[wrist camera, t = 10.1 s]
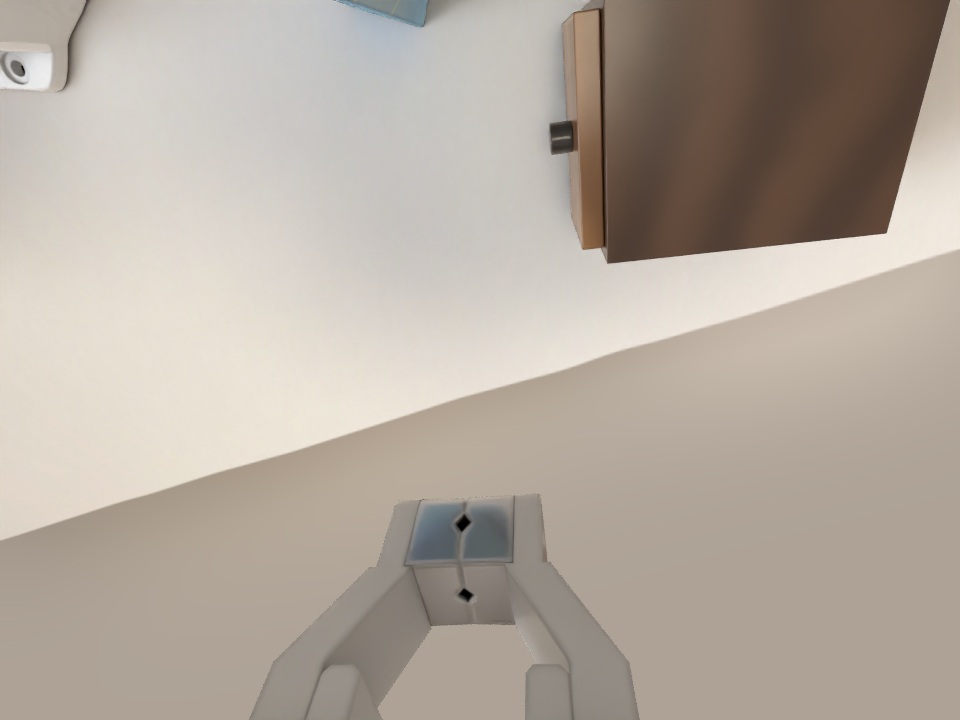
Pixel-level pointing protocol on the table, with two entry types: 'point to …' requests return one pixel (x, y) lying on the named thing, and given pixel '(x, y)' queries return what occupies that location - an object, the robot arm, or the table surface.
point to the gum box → (393, 9)
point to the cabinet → (757, 119)
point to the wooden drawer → (583, 125)
